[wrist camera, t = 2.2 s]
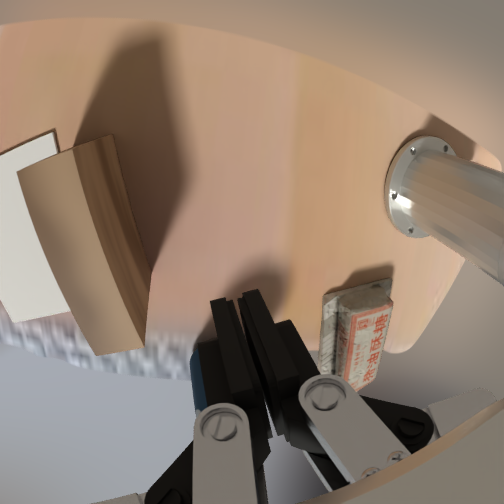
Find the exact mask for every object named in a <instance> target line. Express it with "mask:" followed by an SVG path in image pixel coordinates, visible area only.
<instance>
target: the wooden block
mask: <svg viewBox="0 0 504 504" xmlns="http://www.w3.org/2000/svg"><path fill="white" fill-rule="evenodd" d="M17 176H18V180H19V183H20V186H21V190H22V193H23V196H24V199H25V203H26V206H27V209H28V212H29V215H30V217H31V220H32V223H33V226H34V229H35V231H36V234H37V237H38V239H39V242H40V244H41V247H42V249H43V252H44V254H45V257H46V259H47V261H48V264H49V266H50V268H51V271H52V273H53V275H54V277H55V280H56V282H57V284H58V286H59V288H60V290H61V292H62V294H63V296H64V298H65V300H66V302H67V304H68V306H69V308H70V310H71V312H72V314H73V316H74V318H75V320H76V322H77V324H78V325H79V327H80V329H81V331H82V333H83V335H84V336H85V338H86V340H87V342H88V343H89V345H90V347H91V348H92V350H93V352H94V353H95V355H96V356H99V355H105V354H111V353H117V352H122V351H128V350H133V349H138V348H144V345H145V332H146V321H147V310H148V301H149V291H150V283H151V275H152V272H151V269H150V266H149V263H148V260H147V257H146V254H145V251H144V248H143V245H142V242H141V238H140V235H139V232H138V229H137V225H136V222H135V219H134V215H133V212H132V208H131V205H130V201H129V197H128V194H127V190H126V186H125V183H124V179H123V175H122V171H121V167H120V163H119V159H118V155H117V150H116V146H115V142H114V137H113V134H111V135H108V136H104V137H101V138H98V139H95V140H92V141H89V142H86V143H83V144H80V145H77V146H75V147H72V148H69V149H67V150H64V151H62V152H59V153H57V154H54V155H52V156H50V157H47V158H45V159H43V160H40V161H38V162H36V163H34V164H32V165H29V166H27V167H25V168H23V169H21V170H19V171H17Z"/></svg>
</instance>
